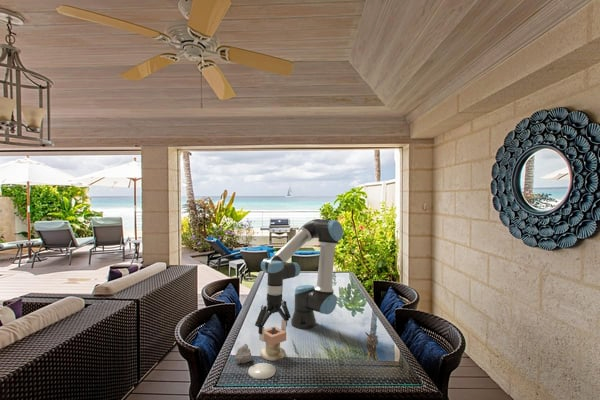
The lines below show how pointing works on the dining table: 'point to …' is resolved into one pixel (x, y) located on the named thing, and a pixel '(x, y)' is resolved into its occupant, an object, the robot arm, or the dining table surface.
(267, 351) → the stand
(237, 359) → the stone
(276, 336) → the link
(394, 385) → the dining table surface
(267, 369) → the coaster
